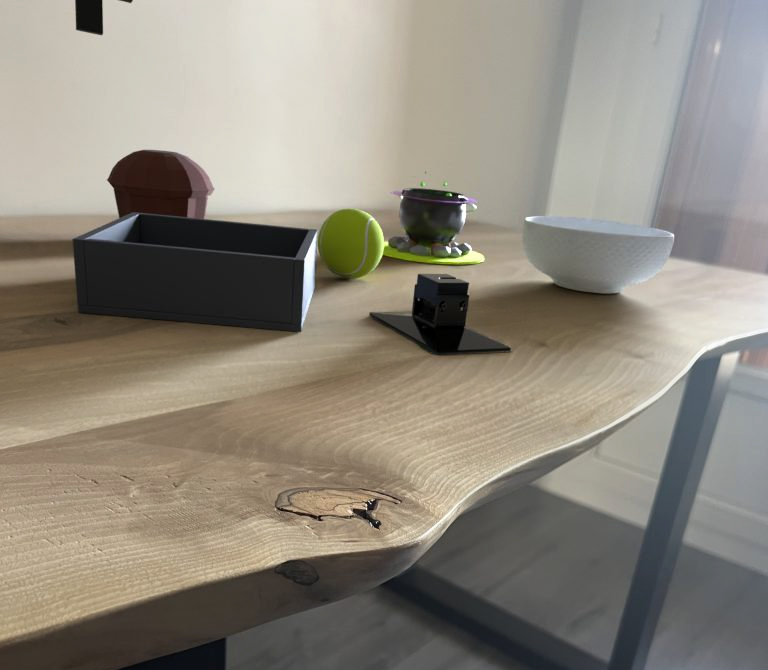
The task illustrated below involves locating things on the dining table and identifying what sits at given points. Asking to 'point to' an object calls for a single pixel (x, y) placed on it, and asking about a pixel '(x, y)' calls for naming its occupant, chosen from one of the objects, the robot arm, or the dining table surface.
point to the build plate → (440, 318)
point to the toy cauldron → (432, 227)
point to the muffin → (160, 184)
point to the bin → (197, 271)
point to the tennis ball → (350, 243)
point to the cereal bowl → (594, 252)
